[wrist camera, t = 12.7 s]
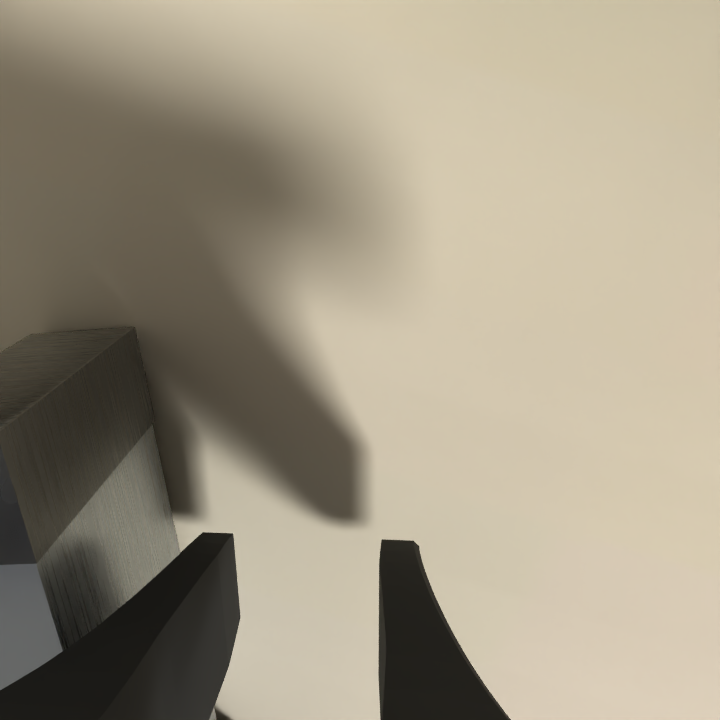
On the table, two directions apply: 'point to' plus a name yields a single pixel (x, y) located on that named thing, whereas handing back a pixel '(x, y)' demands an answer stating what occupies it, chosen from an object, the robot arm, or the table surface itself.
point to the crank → (75, 491)
